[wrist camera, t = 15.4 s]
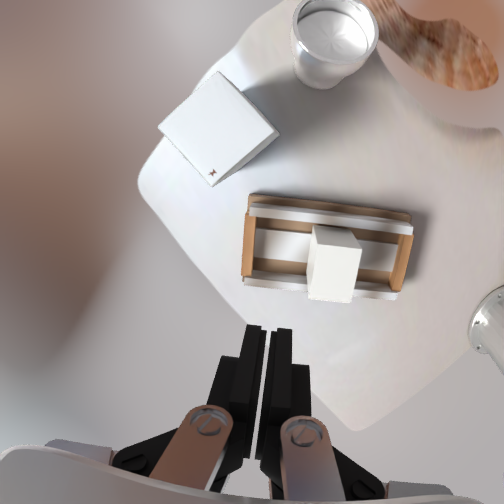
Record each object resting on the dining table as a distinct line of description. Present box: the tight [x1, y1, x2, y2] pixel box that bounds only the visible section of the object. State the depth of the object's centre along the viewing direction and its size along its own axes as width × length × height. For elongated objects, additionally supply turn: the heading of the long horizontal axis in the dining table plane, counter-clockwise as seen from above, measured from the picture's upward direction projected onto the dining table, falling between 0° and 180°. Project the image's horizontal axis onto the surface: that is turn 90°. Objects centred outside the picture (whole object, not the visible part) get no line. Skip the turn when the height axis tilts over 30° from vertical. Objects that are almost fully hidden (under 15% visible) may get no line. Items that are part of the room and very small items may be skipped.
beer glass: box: [290, 0, 379, 89], centre depth 26 cm, size 7×7×15 cm
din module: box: [306, 225, 362, 303], centre depth 35 cm, size 4×6×7 cm
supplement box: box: [158, 71, 280, 187], centre depth 31 cm, size 7×7×13 cm
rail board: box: [241, 194, 414, 300], centre depth 38 cm, size 20×11×4 cm, turn 86°
